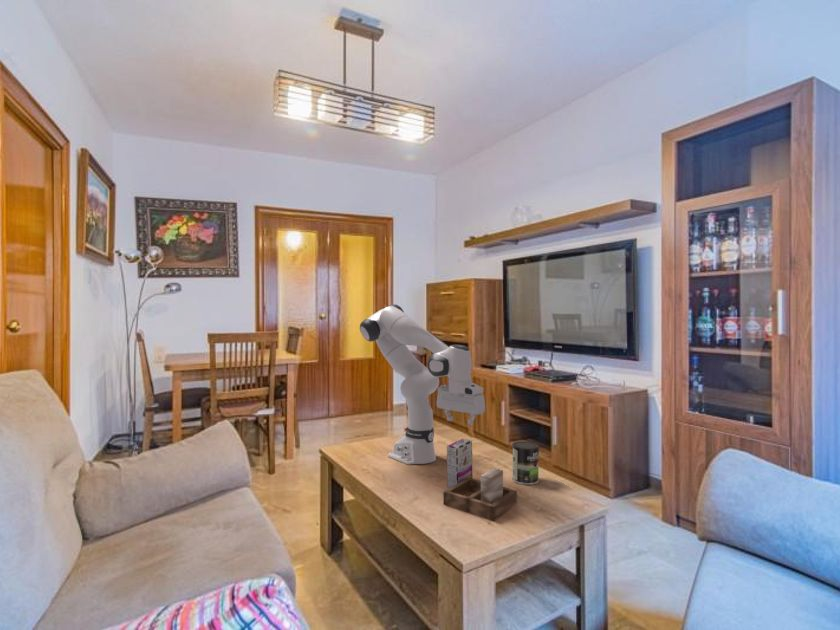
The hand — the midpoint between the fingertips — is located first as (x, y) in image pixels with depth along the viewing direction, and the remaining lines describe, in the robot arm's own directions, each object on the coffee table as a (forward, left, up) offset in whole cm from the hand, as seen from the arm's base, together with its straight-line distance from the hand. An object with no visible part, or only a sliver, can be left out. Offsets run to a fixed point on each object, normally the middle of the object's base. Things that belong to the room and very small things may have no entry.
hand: (460, 422), depth 179 cm
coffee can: (+18, +20, -24) cm, 36 cm away
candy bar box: (0, 0, -24) cm, 24 cm away
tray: (+15, -10, -24) cm, 30 cm away
